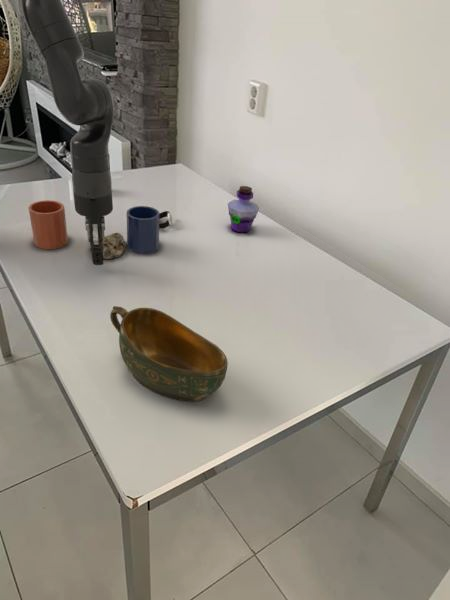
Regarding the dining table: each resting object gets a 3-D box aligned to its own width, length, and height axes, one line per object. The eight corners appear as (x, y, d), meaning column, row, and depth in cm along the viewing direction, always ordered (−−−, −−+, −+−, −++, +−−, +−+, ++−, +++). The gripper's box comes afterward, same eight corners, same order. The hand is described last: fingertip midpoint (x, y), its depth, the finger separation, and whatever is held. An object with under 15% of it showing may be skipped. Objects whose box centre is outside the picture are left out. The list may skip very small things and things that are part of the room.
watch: (170, 231, 119) (170, 219, 117) (152, 229, 119) (152, 217, 117) (173, 219, 126) (174, 207, 124) (156, 217, 126) (157, 205, 124)
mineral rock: (114, 255, 102) (84, 238, 102) (110, 270, 104) (80, 254, 105) (137, 238, 111) (109, 222, 111) (133, 252, 113) (106, 237, 114)
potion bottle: (222, 232, 122) (226, 190, 115) (227, 219, 129) (232, 179, 122) (253, 238, 121) (260, 195, 114) (257, 224, 128) (263, 184, 121)
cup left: (30, 248, 105) (24, 212, 100) (38, 233, 112) (33, 199, 107) (64, 250, 106) (59, 214, 101) (70, 235, 113) (66, 201, 107)
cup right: (126, 253, 108) (125, 218, 103) (129, 238, 114) (128, 205, 109) (158, 254, 109) (158, 220, 104) (159, 239, 115) (160, 207, 110)
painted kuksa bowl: (172, 331, 86) (174, 286, 80) (230, 401, 73) (238, 354, 67) (107, 351, 79) (104, 305, 74) (158, 433, 66) (159, 384, 60)
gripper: (73, 177, 95) (81, 249, 105) (72, 202, 84) (80, 280, 94) (110, 177, 97) (114, 248, 107) (113, 202, 86) (117, 278, 96)
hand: (98, 263), depth 100 cm, fingers closed
